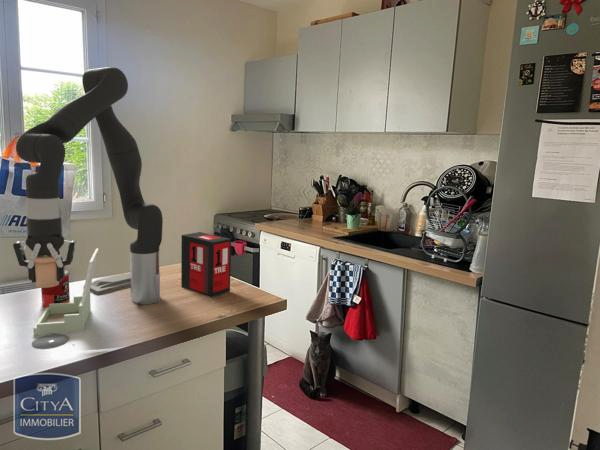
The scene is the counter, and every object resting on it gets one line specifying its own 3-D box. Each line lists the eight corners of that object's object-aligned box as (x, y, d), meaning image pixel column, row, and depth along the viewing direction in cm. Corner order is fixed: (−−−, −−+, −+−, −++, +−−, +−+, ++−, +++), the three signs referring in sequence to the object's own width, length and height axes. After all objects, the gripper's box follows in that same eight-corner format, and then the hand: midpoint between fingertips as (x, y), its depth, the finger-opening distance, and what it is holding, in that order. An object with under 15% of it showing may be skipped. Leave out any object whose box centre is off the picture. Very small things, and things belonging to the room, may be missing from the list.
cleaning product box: (181, 287, 164) (181, 235, 161) (199, 282, 171) (200, 232, 168) (212, 297, 155) (212, 242, 151) (229, 291, 162) (231, 238, 158)
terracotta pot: (58, 287, 110) (56, 251, 108) (31, 288, 108) (29, 252, 107) (62, 280, 116) (61, 246, 114) (37, 281, 114) (35, 246, 112)
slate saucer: (71, 335, 120) (71, 332, 120) (65, 348, 112) (65, 346, 112) (36, 338, 117) (36, 335, 117) (28, 352, 109) (28, 349, 109)
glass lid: (88, 285, 135) (91, 285, 135) (80, 303, 120) (83, 303, 120) (96, 248, 133) (98, 248, 134) (89, 261, 119) (92, 262, 119)
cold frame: (90, 312, 136) (89, 287, 135) (83, 333, 121) (82, 305, 120) (47, 314, 132) (45, 289, 131) (33, 337, 118) (32, 308, 116)
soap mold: (82, 290, 157) (82, 280, 157) (132, 278, 173) (132, 269, 173) (98, 296, 152) (97, 286, 151) (148, 284, 168) (148, 275, 167)
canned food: (58, 311, 136) (56, 277, 134) (36, 308, 137) (34, 274, 135) (75, 303, 143) (74, 270, 141) (54, 300, 145) (52, 268, 143)
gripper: (5, 218, 103) (10, 287, 106) (73, 218, 107) (76, 284, 110) (15, 213, 110) (19, 278, 113) (78, 213, 114) (80, 275, 117)
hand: (47, 280), depth 112 cm, fingers closed on terracotta pot, 5 cm apart
